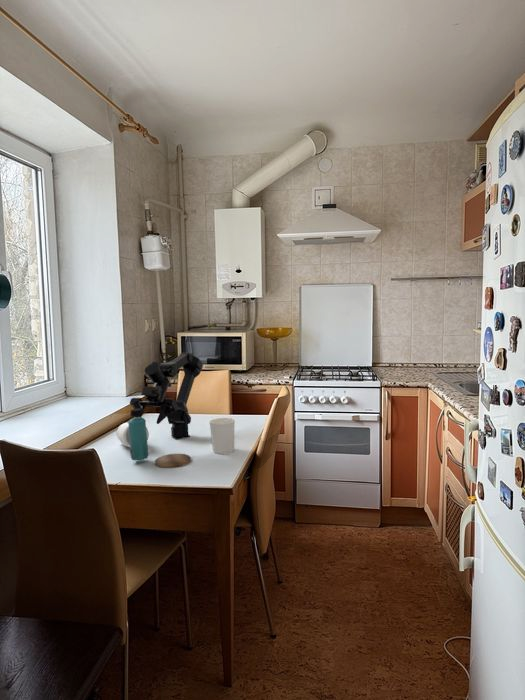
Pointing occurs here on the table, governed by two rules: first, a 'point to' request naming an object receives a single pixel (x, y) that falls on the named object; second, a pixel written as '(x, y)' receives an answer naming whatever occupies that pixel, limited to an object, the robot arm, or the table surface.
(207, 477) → the table surface
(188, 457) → the walnut coaster
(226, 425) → the white cup
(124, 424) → the jar
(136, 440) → the beverage bottle
